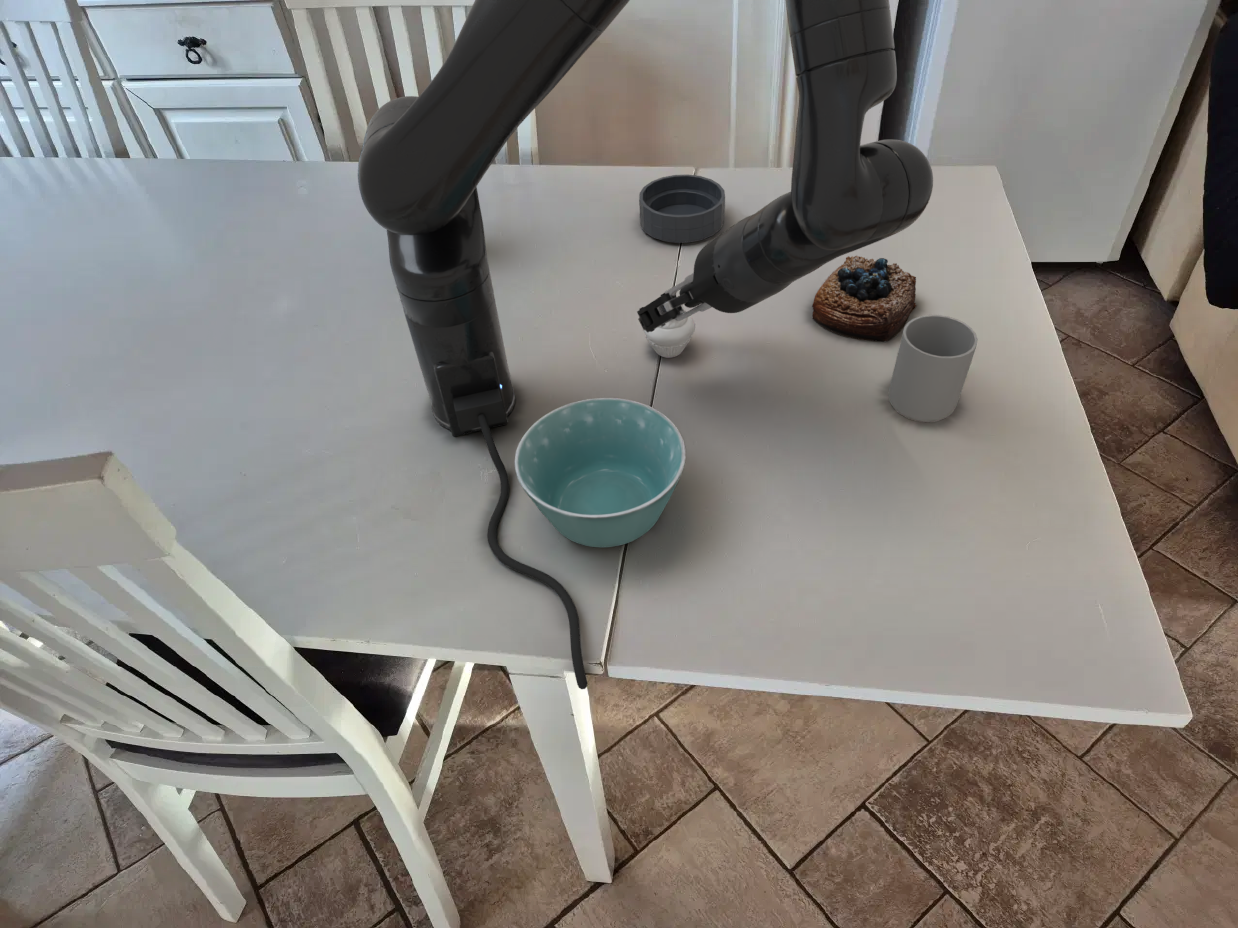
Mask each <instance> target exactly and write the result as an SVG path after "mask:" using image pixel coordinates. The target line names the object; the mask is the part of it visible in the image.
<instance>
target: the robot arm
mask: <svg viewBox="0 0 1238 928" xmlns="http://www.w3.org/2000/svg"><path fill="white" fill-rule="evenodd" d="M630 1H631V0H474V2H473V4H472V6H471V8H470V10H469V12H468V14H467V16H466V19H465V20H464V23H463V24H462V26H461V29H460V31H459V33H458V36H457V37H456V40H455V42H454V44H453V46H452V47H451V48H452V49H451V50H450V51H449V53H448V55H447V57H446V59H445V61H444V62H443V64H442V65H441V67H440V69H439V70H438V72H437V73H436V74H435V76H434V77H433V79H431V81H430V82H429V84H428V85H427V86H426V87H425V88H424V90H423V91H422V92H421V93H420V95H419V96H416V95H408V96H407V95H406V96H400V97H397V98H393V99H391V100H389V101H387V102H386V103H384V104H383V105H382V106H381V107H379V108H378V109H377V111H375V113H374V114H373V115H372V117H371V118H370V120H369V122H368V125H367V126H366V130H365V133H364V138H363V142H362V145H361V151H360V155H359V158H358V164H357V182H358V189H359V193H360V197H361V200H362V204H363V205H364V207H365V209H366V211H367V212H368V214H369V215H370V216H371V217H372V219H373V220H374V221H375V223H377V224H378V225H379V226H380V227H382V228H383V229H385V230H386V235H387V244H388V256H389V265H390V269H391V272H392V276H393V280H394V284H395V285H396V289H397V293H398V296H399V300H400V303H401V306H402V310H403V313H404V317H405V321H406V323H407V328H408V331H409V334H410V338H411V341H412V345H413V347H414V351H415V354H416V358H417V360H418V364H419V367H420V368H419V369H420V371H421V375H422V378H423V381H424V385H425V387H426V388H425V389H426V391H427V395H428V398H429V401H430V404H431V405H430V406H431V411H432V414H433V417H434V419H435V421H436V422H437V423H438V424H439V425H440V426H442V427H443V428H445V429H447V430H450V431H451V435H452V436H453V437H457V436H463V435H467V434H473V433H475V432H480V431H481V433H482V436H483V438H484V441H485V444H486V447H487V449H488V452H489V454H490V458H491V461H492V462H493V465H494V466H495V468H496V471H497V474H498V476H499V480H500V492H499V493H500V494H499V498H498V501H497V503H496V506H495V508H494V511H493V512H492V515H491V517H490V520H489V523H488V526H487V531H486V532H487V533H486V536H487V543H488V546H489V548H490V550H491V552H492V554H493V555H494V556H495V557H496V559H497V560H498V561H499V562H501V563H502V564H503V565H504V566H506V567H508V568H509V569H511V570H514V571H515V572H518V573H520V574H523V575H524V576H527V577H529V578H532V579H534V580H536V581H539V582H541V583H542V584H544V585H546V586H547V587H549V588H550V589H551V590H553V592H555V593H556V594H557V596H558V597H559V599H560V600H561V602H562V604H563V606H564V608H565V611H566V613H567V617H568V622H569V623H568V624H569V625H568V626H569V639H570V641H569V642H570V653H571V661H572V667H573V672H574V678H575V681H576V685H577V687H578V688H579V689H580V690H585V689H587V688H588V684H589V682H588V679H587V675H586V671H585V665H584V660H583V653H582V641H581V627H580V619H579V614H578V610H577V607H576V605H575V601H574V600H573V598H572V597H571V595H570V594H569V592H568V591H567V590H566V588H565V587H564V586H563V585H562V584H561V583H560V582H559V581H558V580H557V579H555V578H554V577H552V576H551V575H550V574H547V573H545V572H544V571H542V570H539V569H538V568H537V569H536V568H534V567H532V566H529V565H527V564H525V563H522V562H520V561H518V560H515V559H514V558H512V557H510V556H509V555H508V554H506V553H505V551H504V550H502V548H501V546H500V544H499V542H498V539H497V529H498V526H499V523H500V520H501V518H502V515H503V514H504V511H505V509H506V505H507V503H508V499H509V494H510V481H509V480H510V479H509V475H508V471H507V469H506V466H505V464H504V462H503V460H502V458H501V455H500V453H499V450H498V448H497V445H496V442H495V439H494V437H493V434H492V431H491V429H493V428H497V427H501V426H505V425H508V423H509V420H508V417H509V415H511V413H512V411H513V410H514V409H515V408H514V407H515V405H516V393H515V389H514V387H513V384H512V383H513V382H512V378H511V373H510V368H509V363H508V359H507V354H506V349H505V348H506V347H505V342H504V338H503V332H502V327H501V323H500V317H499V311H498V307H497V303H496V302H497V301H496V297H495V291H494V286H493V281H492V276H491V270H490V265H489V260H488V253H487V246H486V245H487V244H486V235H485V227H484V220H483V215H482V209H481V205H480V204H481V203H480V199H479V198H480V197H479V193H478V186H479V184H480V182H481V180H482V179H483V178H484V176H485V174H486V173H487V171H488V170H489V168H490V167H491V166H492V164H493V162H494V161H495V160H496V158H497V156H498V155H499V153H500V152H501V151H502V149H503V147H504V146H505V145H506V143H507V142H508V140H509V139H510V138H511V137H512V135H513V134H514V133H515V131H516V130H517V129H518V128H519V127H520V125H521V124H522V123H523V122H524V121H525V120H526V118H528V116H529V115H530V114H531V113H532V112H533V111H534V110H535V109H536V108H537V107H538V106H539V105H540V103H541V102H543V100H544V99H545V98H546V97H547V96H548V95H549V94H550V93H551V92H552V91H553V89H554V88H556V86H557V85H558V84H559V83H560V82H561V80H563V78H564V77H565V76H566V75H567V74H568V73H569V71H570V70H571V69H572V68H573V67H574V65H576V63H577V62H578V61H579V60H580V58H581V57H582V56H583V55H584V54H585V53H586V52H587V50H588V49H590V47H591V46H592V45H593V44H594V43H595V42H596V41H597V40H598V39H599V38H600V37H601V35H602V34H603V33H604V32H605V31H606V30H607V29H608V27H609V26H610V25H611V24H612V23H613V21H614V20H615V19H616V18H617V17H618V15H619V14H620V13H621V12H622V11H623V9H624V8H625V7H626V6H627V5H628V4H629V2H630ZM785 8H786V18H787V25H788V32H789V33H788V34H789V41H790V47H791V52H792V53H791V54H792V60H793V65H794V72H795V73H794V74H795V76H796V78H795V80H796V85H797V91H798V102H797V115H796V123H795V134H794V147H793V148H794V149H793V159H792V169H791V181H790V182H791V184H790V191H789V192H786V193H784V194H781V195H780V196H778V197H776V198H775V199H774V200H772V201H770V202H769V203H767V204H766V205H765V206H763V207H762V208H761V209H759V210H758V211H756V212H755V213H753V214H751V215H748V216H746V217H744V218H742V219H741V220H739V221H737V222H735V223H734V224H732V226H730V227H729V228H728V229H726V230H725V231H723V232H722V233H720V235H717V236H716V237H715V238H713V239H712V240H711V241H709V242H708V243H706V244H705V245H704V246H703V247H702V248H701V249H700V251H699V252H698V253H697V256H696V258H695V261H694V264H693V272H692V273H691V274H689V275H687V276H686V277H685V278H684V280H683V281H681V282H679V283H677V284H676V285H674V286H672V287H670V288H669V289H667V290H665V291H664V292H663V293H662V294H661V293H660V296H659V297H657V298H656V299H654V300H653V301H651V302H650V303H648V304H646V305H645V306H642V307H639V309H638V310H637V311H636V313H637V315H638V318H637V320H638V322H639V324H640V326H641V328H642V331H643V330H646V331H647V332H652V331H654V330H655V329H656V328H657V327H660V326H661V327H663V326H665V325H666V323H668V322H669V321H671V320H673V319H675V320H677V321H681V320H683V319H685V318H687V317H689V316H692V315H693V316H694V315H695V314H696V313H698V312H705V311H707V310H709V309H711V308H713V309H714V310H716V311H719V312H721V313H726V314H736V313H740V312H743V311H746V310H747V309H749V308H751V307H754V306H755V305H757V304H759V303H761V302H764V301H765V300H767V299H769V298H771V297H773V296H774V295H777V294H779V293H781V292H782V291H784V290H785V289H786V288H788V287H789V286H790V285H791V284H792V283H794V282H796V281H797V280H800V279H802V278H803V277H805V276H807V275H809V274H812V273H814V272H815V271H816V270H818V269H819V268H821V267H823V266H824V265H826V264H828V263H829V262H831V261H833V260H835V259H837V258H839V257H842V256H843V255H846V254H850V253H852V252H855V251H857V250H861V249H862V248H865V247H867V246H870V245H872V244H875V243H878V242H879V241H882V240H885V239H888V238H889V237H892V236H894V235H897V234H898V233H900V232H903V231H904V230H906V229H907V228H909V227H910V226H911V225H913V224H914V223H915V222H916V221H917V220H918V219H919V218H920V217H921V215H922V214H923V213H924V211H925V210H926V209H927V207H928V204H929V202H930V199H931V196H932V193H933V187H934V174H933V169H932V166H931V163H930V162H929V159H928V158H927V157H926V155H925V153H923V151H922V150H921V149H920V148H918V147H917V146H915V145H914V144H912V143H910V142H908V141H904V140H901V139H881V140H876V141H873V142H869V143H865V144H861V140H862V134H863V127H864V122H865V117H866V114H867V112H868V111H869V110H870V109H872V108H874V107H876V106H878V105H879V104H882V103H883V102H884V101H885V100H887V99H889V97H890V96H891V95H892V94H893V93H894V91H895V89H896V86H897V80H898V73H897V71H898V69H897V68H898V67H897V57H896V51H895V50H894V49H895V40H894V32H893V21H892V14H891V6H890V0H785ZM678 292H679V295H678V296H677V293H678ZM681 305H683V306H685V307H686V308H688V309H689V310H687V311H686V310H685V309H684V310H685V311H686V312H685V311H684V310H683V309H682V307H681Z"/></svg>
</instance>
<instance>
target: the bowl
mask: <svg viewBox="0 0 1238 928" xmlns="http://www.w3.org/2000/svg"><path fill="white" fill-rule="evenodd" d="M686 452H687V450H686V444H685V441H684V438H683V436H682V434H681V431H680V430H679V429H678V427H677V426H676V424H675V423H674V422H673V421H672V420H671V419H670V418H669V417H668V416H666V415H665V414H664V413H663V412H661V411H659V410H658V409H656V408H654V407H652V406H650V405H648V404H645V403H642V402H639V401H635V400H631V399H627V398H617V397H596V398H595V397H594V398H587V399H582V400H581V399H580V400H578V401H574V402H570V403H567V404H565V405H562V406H560V407H557V408H555V409H553V410H551V411H550V412H548V413H546V414H544V415H543V416H542V417H541V418H539V419H538V420H537V421H535V422H534V423H533V424H532V425H531V426H530V427H529V428H528V429H527V430H526V432H525V433H524V435H523V436H522V437H521V439H520V441H519V442H518V445H517V447H516V450H515V455H514V456H515V457H514V471H515V475H516V478H517V481H518V483H519V485H520V486H521V488H522V490H523V491H524V492H525V494H526V495H527V496H528V497H529V498H530V500H531V501H532V502H533V504H534V505H535V506H536V507H537V508H538V510H539V511H540V512H541V513H542V515H543V516H544V517H545V518H546V519H547V520H548V522H549V523H550V524H551V525H552V526H553V527H554V528H555V529H556V531H557V532H559V533H560V534H561V535H562V536H563V537H565V538H566V539H567V540H570V541H571V542H574V543H576V544H578V545H582V546H585V547H590V548H613V547H618V546H622V545H626V544H628V543H629V544H630V543H631V542H633V541H636V540H637V539H640V538H641V537H642V536H644V535H645V534H647V532H649V531H650V530H651V529H652V528H653V527H654V526H655V524H657V522H658V521H659V519H660V517H661V515H662V513H663V511H664V510H665V508H666V506H667V504H668V502H669V501H670V499H671V497H672V495H673V493H674V491H675V489H676V486H678V483H679V480H680V478H681V476H682V474H683V471H684V468H685V465H686V459H687V457H686V456H687V453H686Z"/></svg>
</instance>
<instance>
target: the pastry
mask: <svg viewBox="0 0 1238 928" xmlns="http://www.w3.org/2000/svg"><path fill="white" fill-rule="evenodd" d="M888 263H889V260H888V258H885V257H879V258H877V259H876V260H875V259H873V258H869V259H868V258H866V257H863V256H858V255H855V256H853V255H852V256H846V257H845V261H844V262H843V264H841V265H840V266H839V267H837V268H836V269H835V270H834V271H832V272H831V274H830V275H829V276H828V277H827V278H826V279H825V280H824V282H823V283H822V284H821V286H820V287H819V289H818V290H817V292H816V293H815V295H814V298H813V302H812V306H811V308H812V310H813V311H812V313H811V314H812V320H814V322H815V323H816V324H817V325H819V326H820V327H821V328H823V329H825V330H826V331H829V332H831V333H833V334H835V335H838V336H841V337H845V338H848V339H853V340H859V341H867V342H877V343H878V342H880V343H884V342H885V343H886V342H889V341H891V340H892V339H894V338H895V337H896V336H897V335H898V334H900V332H902V331H903V329H904V327H905V326H906V324H907V323H908V321H909V318H910V316H911V314H912V313H913V312H914V310H915V309H916V308H917V306H918V305H917V303H916V296H917V295H916V292H917V288H916V286H917V285H916V284H917V276H915V275H912V274H911V273H910V272H907V271H905V272H904V270H903V269H902V268H901V267H900V265H899V264H897V262H896V263H892V264H888Z"/></svg>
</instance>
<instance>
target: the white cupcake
mask: <svg viewBox="0 0 1238 928" xmlns="http://www.w3.org/2000/svg"><path fill="white" fill-rule="evenodd" d="M681 307H682V309H683V310H684V311H685V312H687V311H686V310H685V307H684V304H683V305H681ZM695 330H696V321H695V319H694V317H693V316H692V315H691V316H689V317H687V318H685V319H683V320H681V321H677V320H675V319H673V320H671V321H669V322H668V323H666V325H665V326H663V327H661V326H660V327H657V328H656V329H655V330H654V331H652V332H647V331H646V330H643V329H642V331H643V333H644V336H645V338H646V341H647V342H648V344H649V345H650V346H651V347H652V350H654V352H655V353H656V354H657V355H658V356H660V358H661V357H662V358H665V359H666V358H667V359H670V358H676V357H677V356H679V355H681V354H682V353H683V351H684V350H685V348H686V347H687V345H688V344H689V343H690V341H691V340H692V338H693V335H694V333H695Z"/></svg>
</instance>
